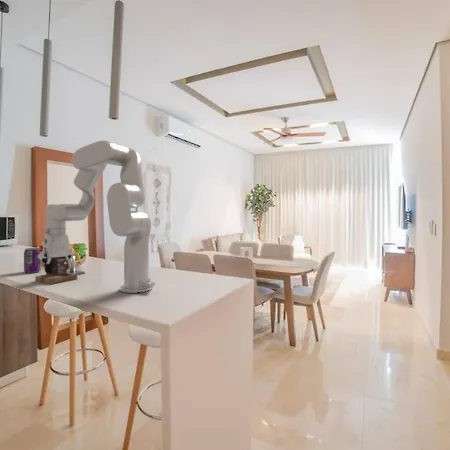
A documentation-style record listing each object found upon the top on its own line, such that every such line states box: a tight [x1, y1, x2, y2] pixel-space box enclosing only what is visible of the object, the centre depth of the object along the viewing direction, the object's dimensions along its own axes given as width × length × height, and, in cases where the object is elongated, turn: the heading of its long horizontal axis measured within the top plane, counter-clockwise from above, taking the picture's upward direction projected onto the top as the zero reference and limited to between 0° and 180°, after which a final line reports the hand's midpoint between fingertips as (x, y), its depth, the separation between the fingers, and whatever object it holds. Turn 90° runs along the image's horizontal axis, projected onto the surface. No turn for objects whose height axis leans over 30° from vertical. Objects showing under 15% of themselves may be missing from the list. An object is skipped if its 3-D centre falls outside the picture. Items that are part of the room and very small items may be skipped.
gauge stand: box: [67, 255, 86, 276], centre depth 152 cm, size 8×8×9 cm
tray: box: [34, 273, 78, 285], centre depth 138 cm, size 12×12×2 cm
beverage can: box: [23, 247, 42, 274], centre depth 155 cm, size 7×7×12 cm
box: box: [45, 257, 68, 275], centre depth 138 cm, size 6×6×7 cm
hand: (56, 270), depth 138 cm, fingers closed on box, 7 cm apart
